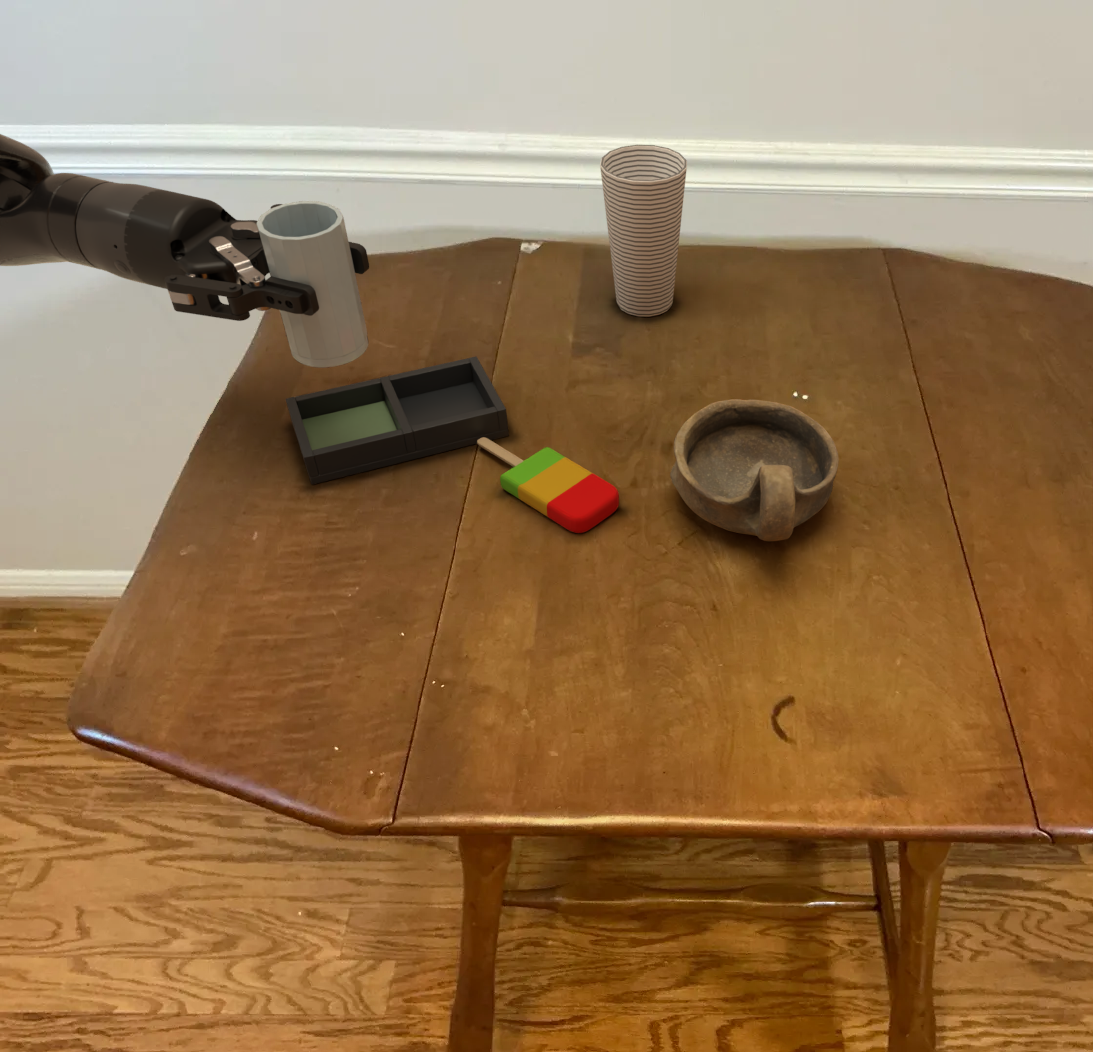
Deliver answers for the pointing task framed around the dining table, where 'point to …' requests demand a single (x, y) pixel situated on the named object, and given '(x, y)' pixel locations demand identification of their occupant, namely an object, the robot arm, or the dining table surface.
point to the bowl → (754, 467)
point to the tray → (396, 419)
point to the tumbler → (316, 281)
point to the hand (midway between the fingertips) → (340, 280)
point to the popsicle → (557, 487)
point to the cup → (644, 224)
